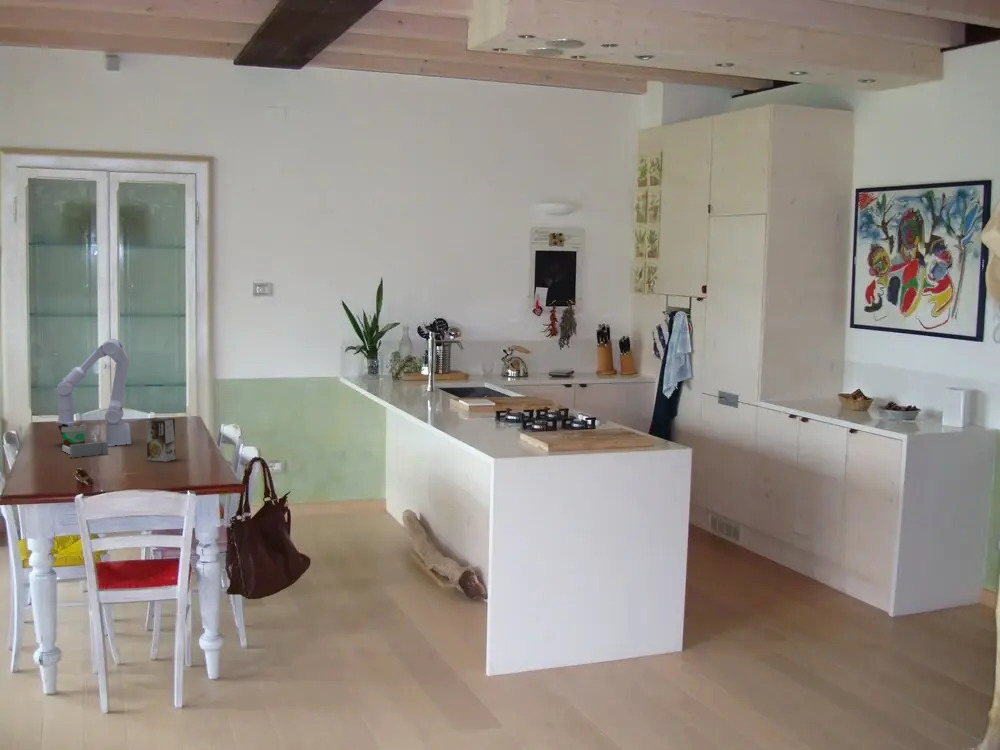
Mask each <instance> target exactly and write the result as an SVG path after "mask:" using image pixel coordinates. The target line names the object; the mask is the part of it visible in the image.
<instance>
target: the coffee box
mask: <svg viewBox="0 0 1000 750" xmlns="http://www.w3.org/2000/svg"><path fill="white" fill-rule="evenodd" d="M175 420H176V419H175V418H172V417H171V418H170V417H152V418H149V419H146V420H145V428H146V429H145V431H146V432H145V433H146V452H147V453H146V454H147V457H146V458H147V459H146V460H147V461H154V462H171V461H175V460H176V429H175V428H176V421H175Z"/></svg>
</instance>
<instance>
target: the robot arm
mask: <svg viewBox="0 0 1000 750" xmlns="http://www.w3.org/2000/svg"><path fill="white" fill-rule="evenodd" d="M105 357H109V358H111V359H112V360H113V361H114V362H115V365H116V366H115V371H114V376H113V383H112V384H113V385H112V390H111V395H110V401H109V405H108V408H107V411H105V415H104V419H105V423H104V424H105V441H106V442H108V447H116V446H115V445H117V446H124V445H125V446H127V445H132V441H131V438H132V437H131V426H130V424H129V422H124V420H123V419H122V418H123V417H124V410H123V399H124V394H125V387H126V381H127V375H128V370H129V363H130V358H129V356H128V354H127V352H126V350H125V348H124V345H123V344H122V343H121V342H120V340H118V339H115V338H110V339H108V340H106V341H104V343H103V344H101V345H100V346H98V348H96V349H95V350H93V352H92V353H91V354H90V355H89V357H87V359H85V360H84V362H83V363H82V364H81V365H80V366H75V367H74V368H71V369H70V370H69V373H68V374H66V376H65V377H62V381H60V382H59V383H58V385H57V386H56V392H57V397H58V399H57V407H58V408H57V410H58V411H57V412H58V420H55V424H61V425H58V426H57V427H58V429H59V432H60V433H61V437H62V438H63V434H62V432H61V428H62V427H70V426H75V419H74V399H73V398H74V397H73V392H74V391H75V390H74V389H75V388H77V387H78V386H79V385H80V383H82V382H83V380H85V378H86V377H87V371H88V370H89V369H90V368H91V367H92V366H94V365H95V364H96V363H97V362H98V360H100V359H102V358H105ZM126 444H127V445H126Z"/></svg>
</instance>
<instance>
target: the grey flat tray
mask: <svg viewBox="0 0 1000 750" xmlns="http://www.w3.org/2000/svg"><path fill="white" fill-rule="evenodd" d="M108 447H109V446H108V442H106V440H104V441H98V442H87V443H85V444H77V445H70V447H68V446H65V445H64V444H63V445H62V448H61V449H62V451H64V452H66V453H68V454H70V455H69V458H70V457H78V458H83V457H82V456H87V457H92V456H91V455H96V456H98V455H97V454H109V448H108ZM64 452H63V453H64ZM66 453H65V454H66ZM68 454H67V455H68Z"/></svg>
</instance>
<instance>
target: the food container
mask: <svg viewBox="0 0 1000 750" xmlns="http://www.w3.org/2000/svg"><path fill="white" fill-rule="evenodd" d="M86 430H88V427H87V424H86V423H85V422H79V424H77V425H74V426H70V427H62V428H61V431H60V433H61V432H62V434H63V437H62V443H63V445H65V446H68V447H70V445H77V444H86ZM62 434H61V435H62Z"/></svg>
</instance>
